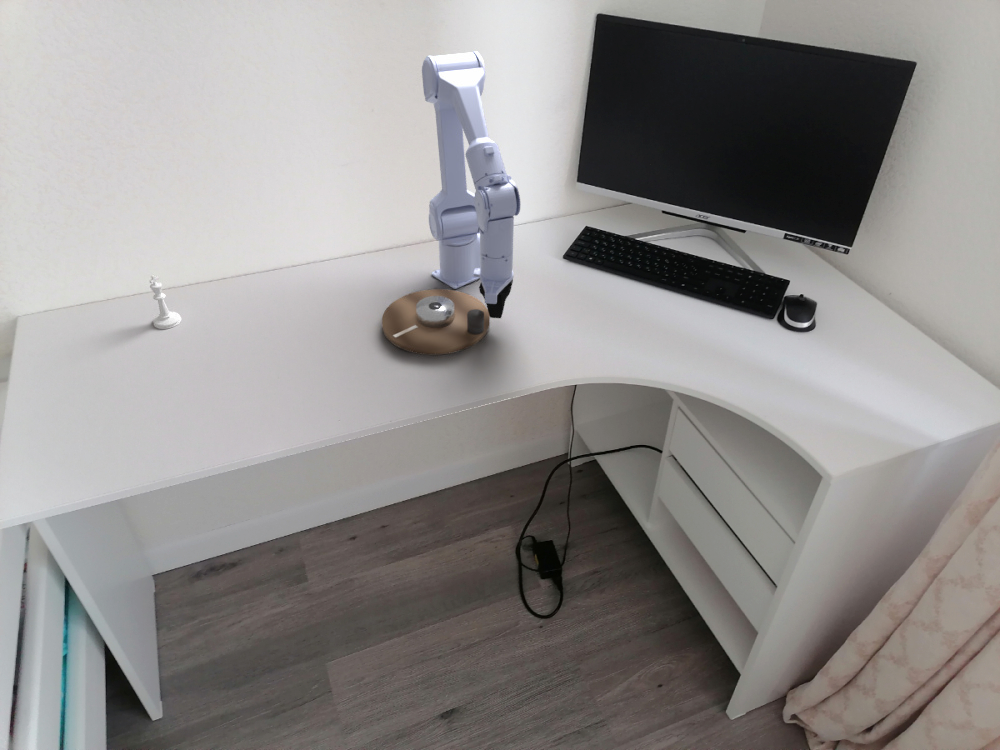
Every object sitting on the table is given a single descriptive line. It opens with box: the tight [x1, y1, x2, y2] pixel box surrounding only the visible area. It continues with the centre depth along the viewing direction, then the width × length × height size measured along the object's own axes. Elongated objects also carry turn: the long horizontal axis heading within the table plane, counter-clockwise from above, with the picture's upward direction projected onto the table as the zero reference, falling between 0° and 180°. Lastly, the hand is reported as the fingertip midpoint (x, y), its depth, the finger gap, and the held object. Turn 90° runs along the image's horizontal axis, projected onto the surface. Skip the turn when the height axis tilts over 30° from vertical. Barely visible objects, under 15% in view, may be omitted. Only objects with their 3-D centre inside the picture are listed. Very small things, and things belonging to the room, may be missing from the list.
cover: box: [416, 296, 455, 328], centre depth 135 cm, size 7×7×3 cm
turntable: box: [381, 288, 490, 356], centre depth 135 cm, size 20×20×5 cm
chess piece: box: [149, 274, 182, 330], centre depth 135 cm, size 5×5×10 cm
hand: (495, 316), depth 135 cm, fingers closed
